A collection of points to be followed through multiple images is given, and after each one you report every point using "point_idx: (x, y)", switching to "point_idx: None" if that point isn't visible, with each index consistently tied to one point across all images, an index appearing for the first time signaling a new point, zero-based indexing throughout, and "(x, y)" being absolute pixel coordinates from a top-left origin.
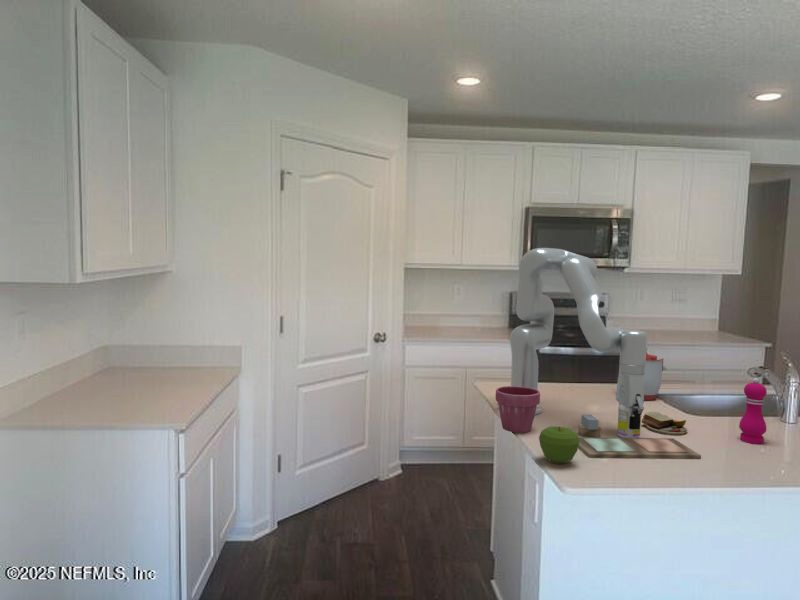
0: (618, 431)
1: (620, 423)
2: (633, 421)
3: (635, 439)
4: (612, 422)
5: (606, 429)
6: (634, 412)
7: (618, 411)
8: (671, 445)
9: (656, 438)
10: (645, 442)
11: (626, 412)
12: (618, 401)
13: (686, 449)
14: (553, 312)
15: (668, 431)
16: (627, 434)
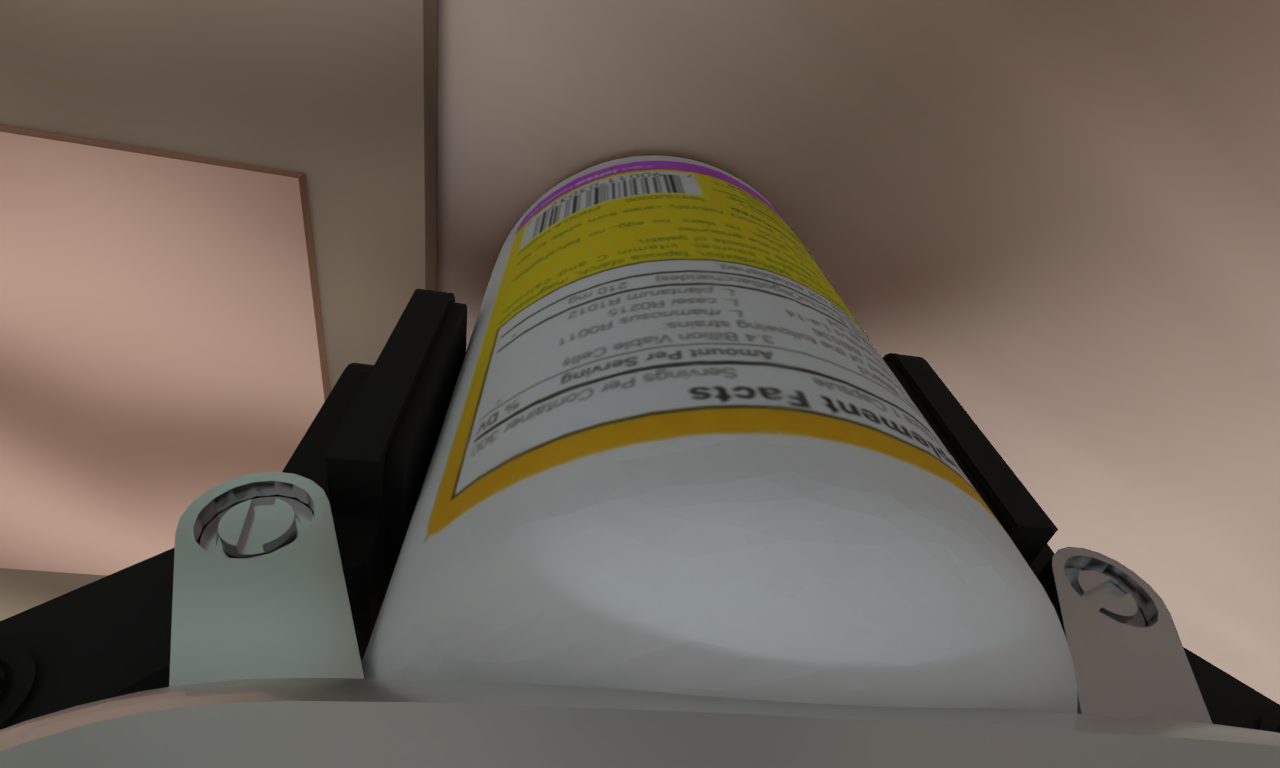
0: (689, 170)
1: (650, 233)
2: (322, 425)
3: (281, 230)
4: (1216, 433)
5: (1052, 177)
6: (156, 641)
7: (864, 394)
8: (91, 530)
9: None
10: (141, 299)
11: (464, 487)
12: (1205, 756)
13: (26, 595)
14: None
15: None
16: (514, 236)
